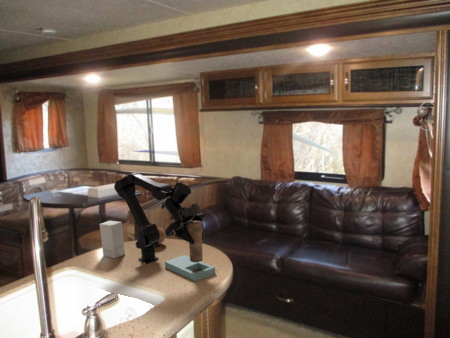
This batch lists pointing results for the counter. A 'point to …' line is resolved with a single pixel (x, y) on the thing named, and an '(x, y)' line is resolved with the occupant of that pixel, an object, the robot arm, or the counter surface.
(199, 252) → the pepper mill
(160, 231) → the onion
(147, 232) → the robot arm
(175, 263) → the socket stand
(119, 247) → the skincare box
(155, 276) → the counter surface
